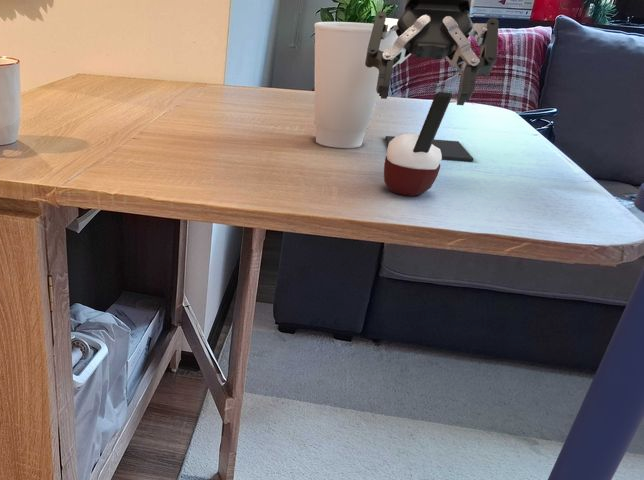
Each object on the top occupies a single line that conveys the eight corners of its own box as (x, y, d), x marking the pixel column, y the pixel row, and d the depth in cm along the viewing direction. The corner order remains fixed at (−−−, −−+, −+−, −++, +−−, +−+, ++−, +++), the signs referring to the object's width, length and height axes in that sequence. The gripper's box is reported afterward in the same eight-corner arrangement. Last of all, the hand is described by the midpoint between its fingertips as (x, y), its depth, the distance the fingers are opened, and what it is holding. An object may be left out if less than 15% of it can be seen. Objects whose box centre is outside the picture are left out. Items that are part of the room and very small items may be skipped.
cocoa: (385, 179, 80) (407, 76, 74) (437, 187, 78) (463, 82, 71) (370, 199, 73) (392, 87, 66) (427, 208, 70) (455, 93, 64)
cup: (377, 155, 90) (402, 30, 82) (294, 147, 93) (310, 25, 84) (379, 138, 100) (401, 25, 92) (304, 130, 102) (318, 20, 94)
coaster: (457, 143, 98) (458, 141, 98) (472, 161, 89) (473, 158, 89) (385, 138, 100) (385, 135, 100) (392, 155, 91) (393, 152, 90)
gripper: (384, -47, 74) (363, 71, 71) (514, -43, 71) (499, 81, 68) (375, 3, 81) (356, 112, 78) (493, 9, 78) (479, 123, 75)
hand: (423, 97), depth 73 cm, fingers open, 8 cm apart
